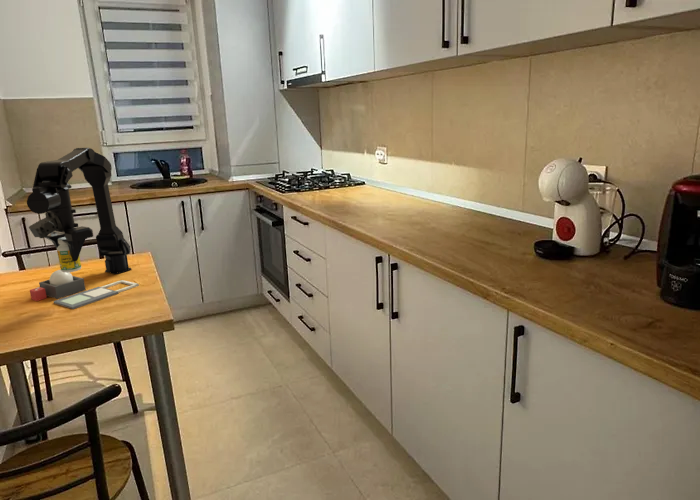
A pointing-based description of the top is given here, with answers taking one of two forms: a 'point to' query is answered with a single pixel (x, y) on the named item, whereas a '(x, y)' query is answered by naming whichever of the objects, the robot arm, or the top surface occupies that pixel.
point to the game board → (92, 295)
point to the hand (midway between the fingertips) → (69, 259)
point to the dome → (60, 278)
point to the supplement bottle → (67, 258)
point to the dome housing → (57, 289)
